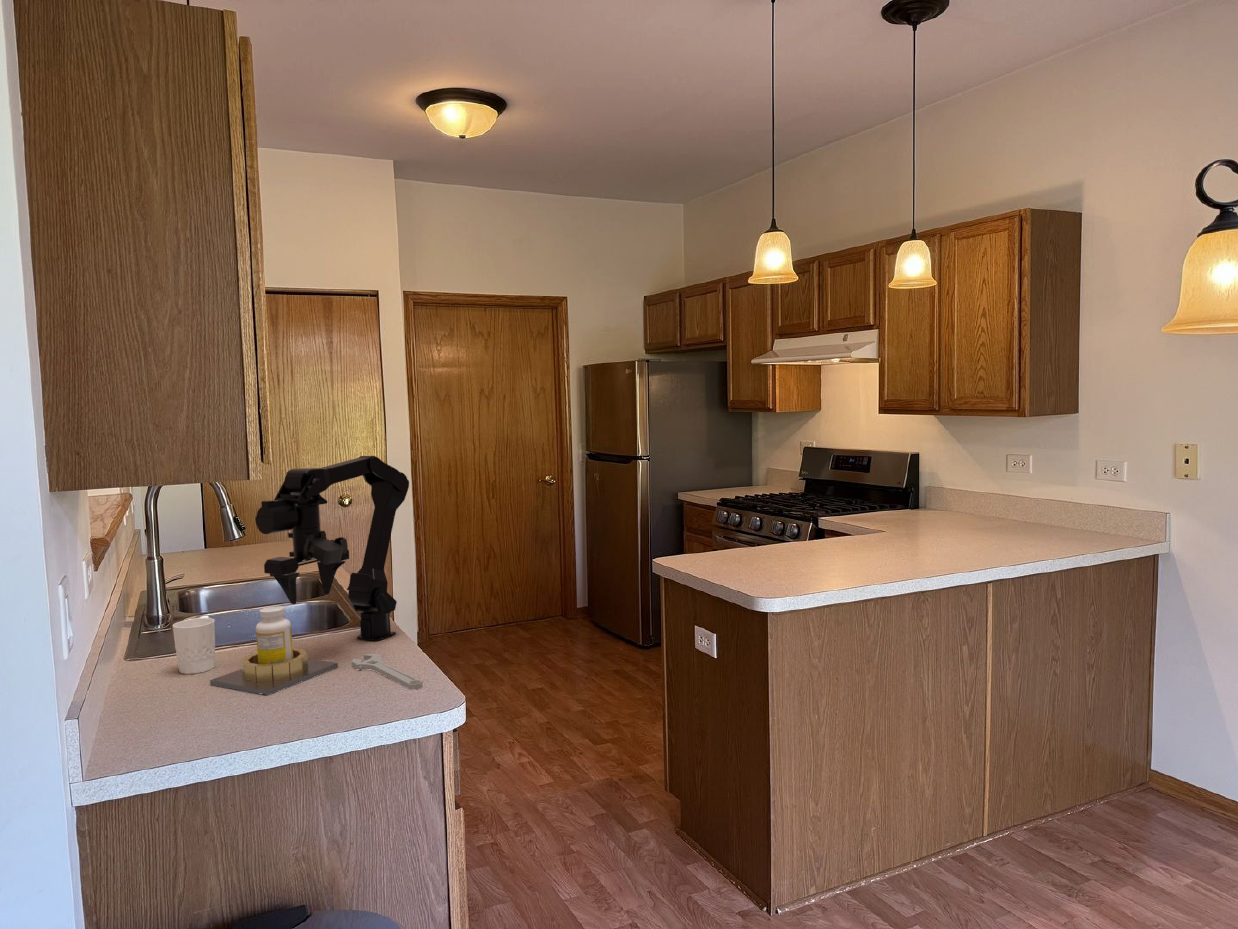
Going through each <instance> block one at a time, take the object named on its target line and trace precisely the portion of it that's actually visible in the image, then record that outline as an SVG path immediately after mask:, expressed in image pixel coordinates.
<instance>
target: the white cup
mask: <svg viewBox="0 0 1238 929" xmlns="http://www.w3.org/2000/svg"><path fill="white" fill-rule="evenodd" d="M215 622H216V621H215V619H214V618H212V617H198V618H197V617H196V618H190V619H185V620H181V621H177V622H175V623H173V624H172V632H173V639H174V647H175V652H176V659H177V664H178V666H177V667H178V672H179V673H181V674H184V675H193V674H194V675H195V674H200V673H204V672H209V671H210V670H213V669H214V668H215V666H216V662H215V661H216V658H215V654H216V636H215V635H216V628H215V627H216V626H215V624H216V623H215Z"/></svg>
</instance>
